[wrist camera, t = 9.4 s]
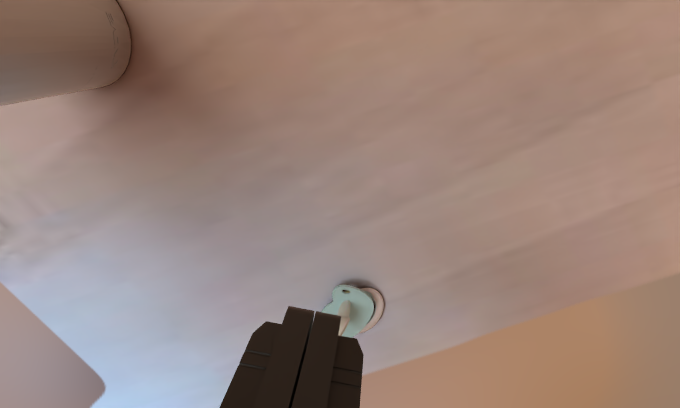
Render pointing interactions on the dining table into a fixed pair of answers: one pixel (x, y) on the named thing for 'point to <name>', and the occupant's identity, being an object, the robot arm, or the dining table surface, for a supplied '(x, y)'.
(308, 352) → the robot arm
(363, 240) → the dining table surface
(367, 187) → the dining table surface
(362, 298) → the pacifier
